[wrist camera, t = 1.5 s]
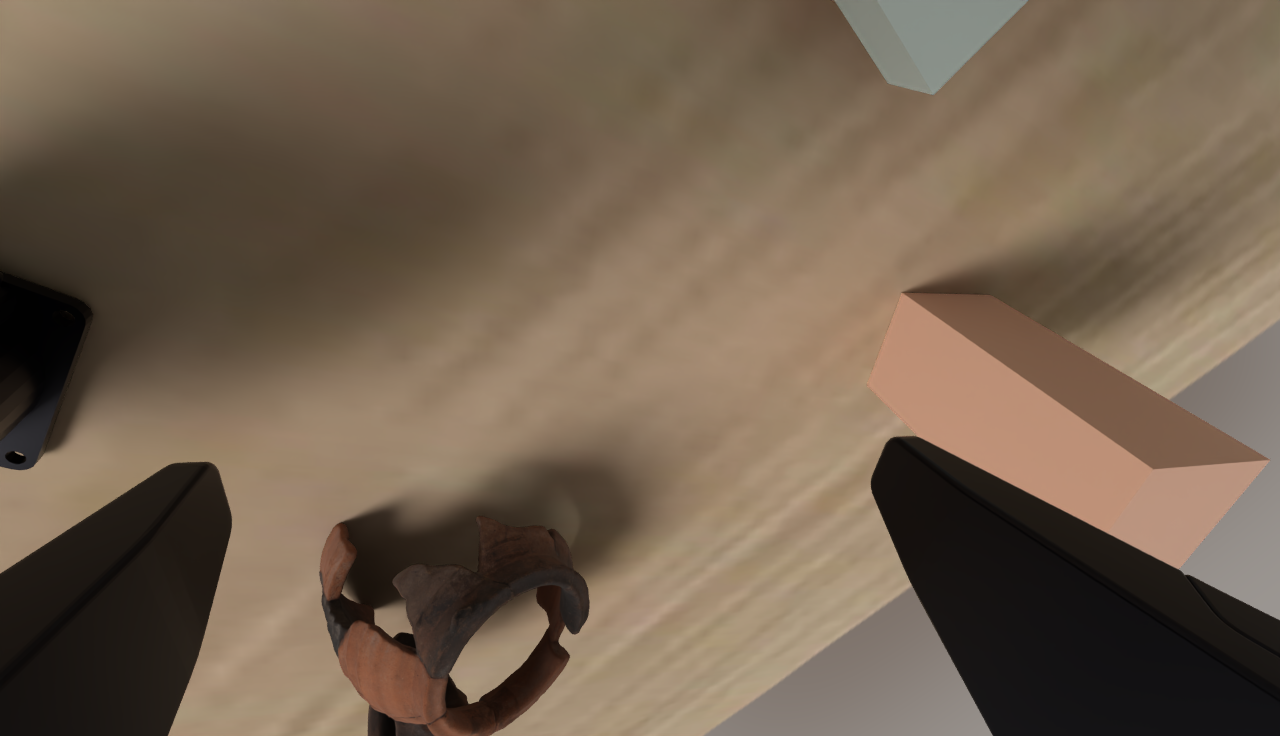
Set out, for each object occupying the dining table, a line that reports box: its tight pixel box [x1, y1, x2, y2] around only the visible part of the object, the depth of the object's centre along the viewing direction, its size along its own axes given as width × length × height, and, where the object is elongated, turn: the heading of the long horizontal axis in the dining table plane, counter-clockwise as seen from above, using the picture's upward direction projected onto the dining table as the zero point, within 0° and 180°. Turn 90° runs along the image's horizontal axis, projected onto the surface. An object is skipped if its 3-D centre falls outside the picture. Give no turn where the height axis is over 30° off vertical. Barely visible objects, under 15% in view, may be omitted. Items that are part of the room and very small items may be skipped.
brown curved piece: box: [319, 516, 589, 736], centre depth 25 cm, size 12×10×8 cm
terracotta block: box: [867, 293, 1270, 569], centre depth 22 cm, size 4×4×11 cm
